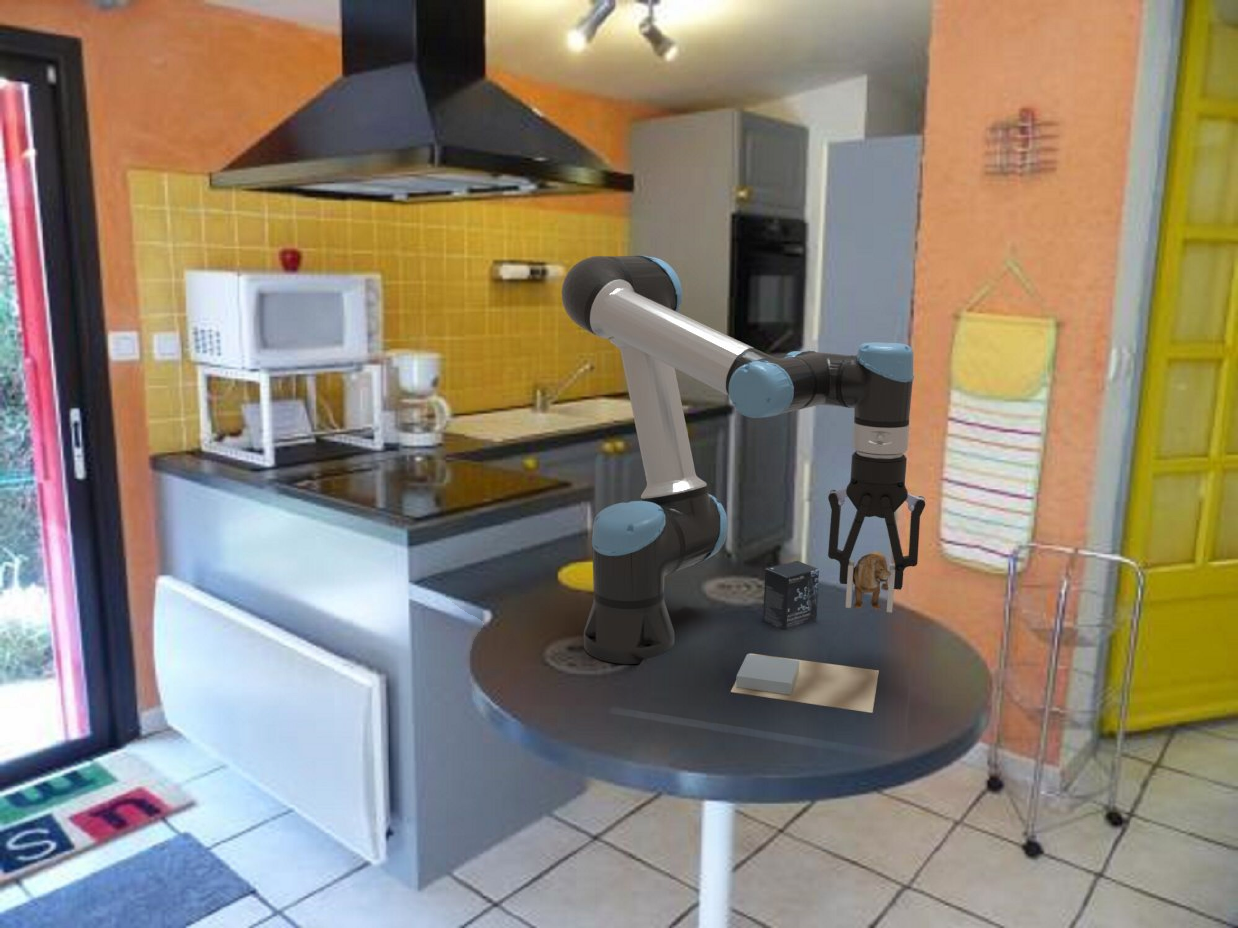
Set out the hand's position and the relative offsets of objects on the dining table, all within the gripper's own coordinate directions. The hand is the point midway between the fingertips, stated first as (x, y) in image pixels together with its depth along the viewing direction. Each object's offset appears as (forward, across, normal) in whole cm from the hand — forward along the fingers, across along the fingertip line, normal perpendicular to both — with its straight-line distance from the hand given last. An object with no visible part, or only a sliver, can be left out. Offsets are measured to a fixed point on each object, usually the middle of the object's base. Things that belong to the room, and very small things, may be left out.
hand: (869, 606), depth 134 cm
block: (+11, -14, -1) cm, 17 cm away
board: (+12, -8, -4) cm, 15 cm away
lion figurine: (+1, +1, +3) cm, 3 cm away
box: (+13, -13, +20) cm, 27 cm away
